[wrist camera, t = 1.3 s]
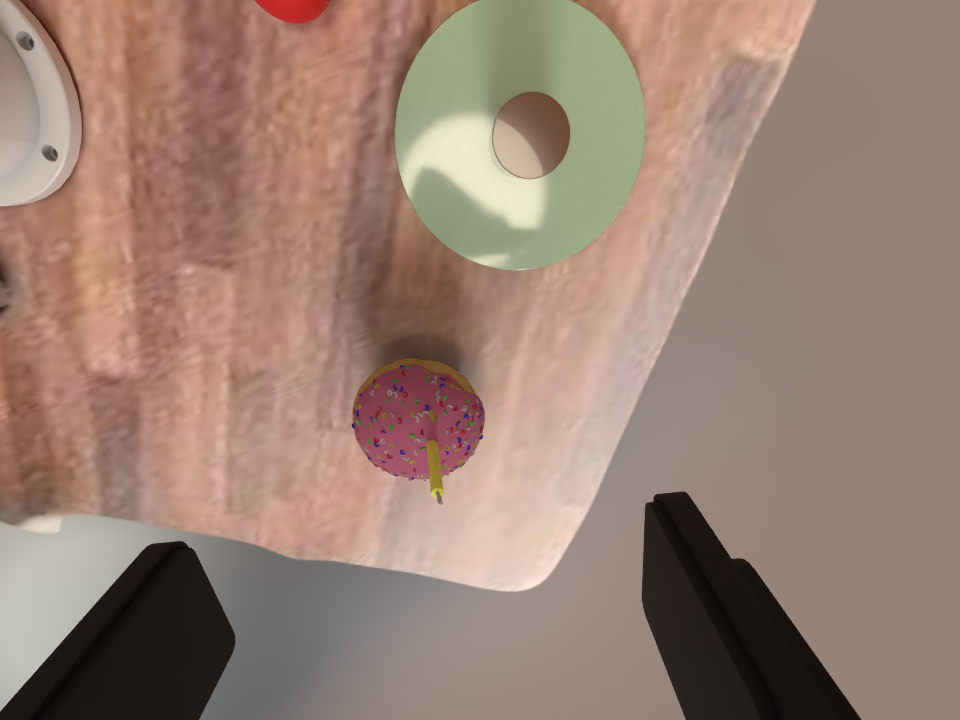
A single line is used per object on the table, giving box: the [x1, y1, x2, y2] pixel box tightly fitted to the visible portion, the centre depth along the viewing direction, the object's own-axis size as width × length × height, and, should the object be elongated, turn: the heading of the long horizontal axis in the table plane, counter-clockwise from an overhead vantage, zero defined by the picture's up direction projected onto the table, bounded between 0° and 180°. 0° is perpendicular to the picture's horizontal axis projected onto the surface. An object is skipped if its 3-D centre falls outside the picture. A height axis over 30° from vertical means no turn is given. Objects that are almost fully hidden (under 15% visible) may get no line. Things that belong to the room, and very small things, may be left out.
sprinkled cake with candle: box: [352, 358, 485, 505], centre depth 28 cm, size 9×8×12 cm
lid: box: [395, 0, 646, 270], centre depth 24 cm, size 15×15×7 cm
